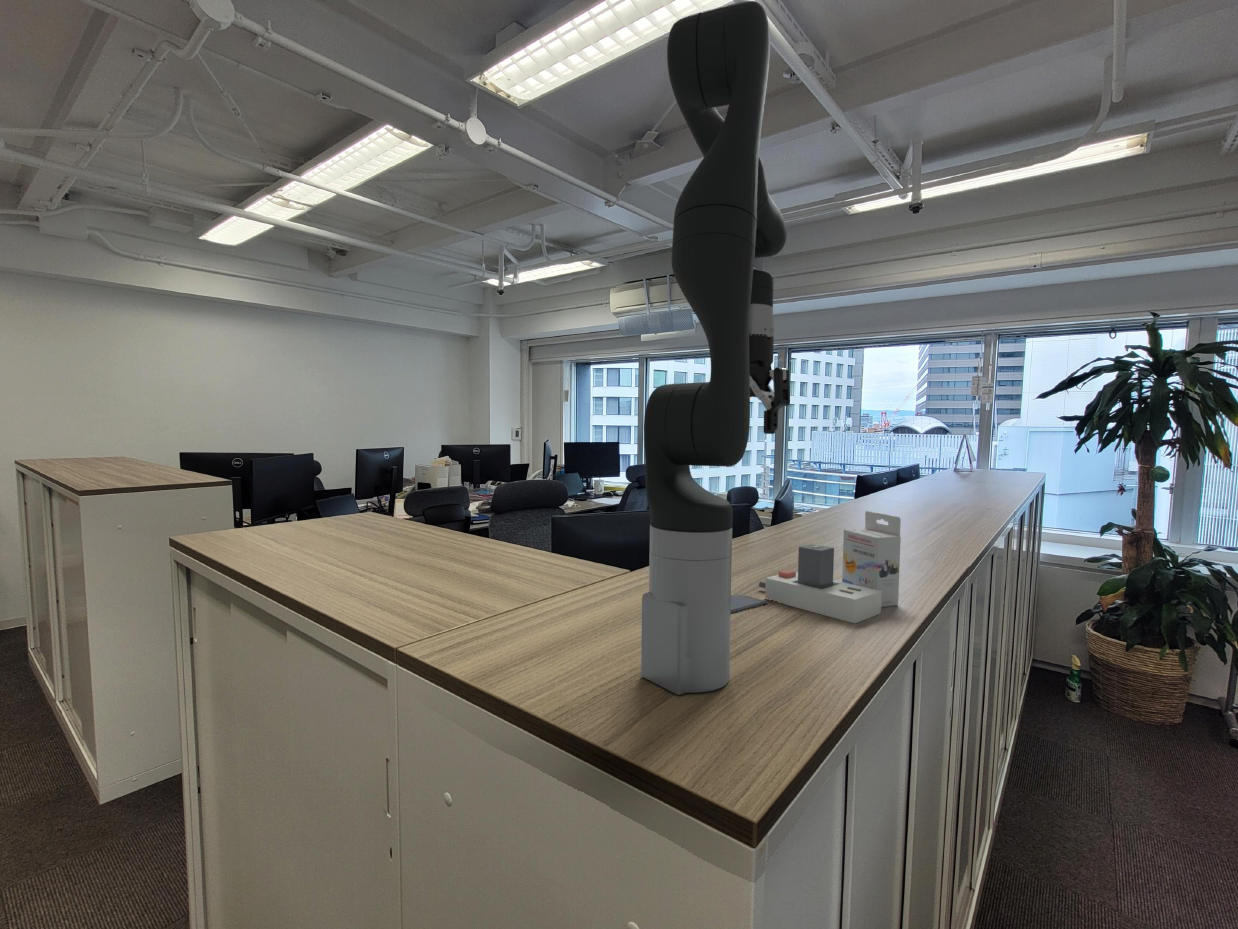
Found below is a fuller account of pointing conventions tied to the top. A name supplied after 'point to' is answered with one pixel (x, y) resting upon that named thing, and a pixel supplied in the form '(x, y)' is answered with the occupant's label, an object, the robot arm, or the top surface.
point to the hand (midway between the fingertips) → (748, 433)
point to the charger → (815, 566)
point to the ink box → (874, 556)
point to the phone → (744, 603)
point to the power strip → (824, 597)
